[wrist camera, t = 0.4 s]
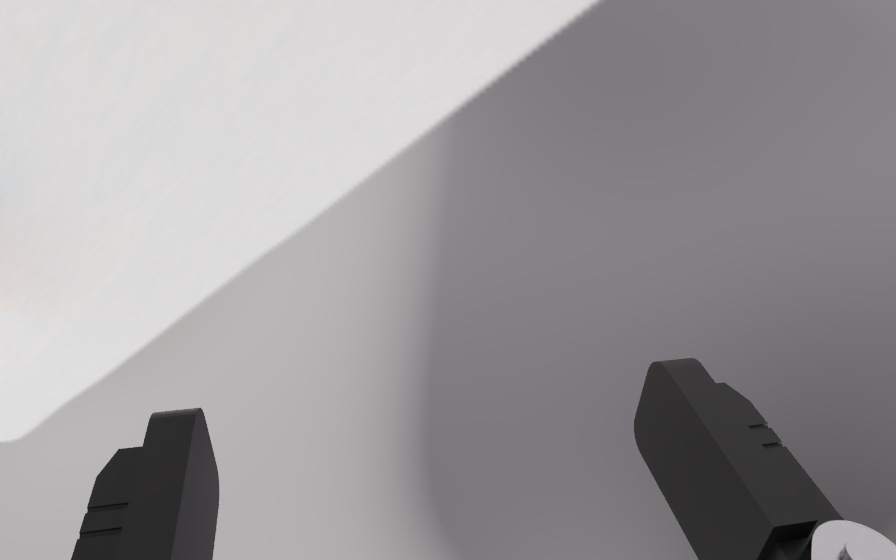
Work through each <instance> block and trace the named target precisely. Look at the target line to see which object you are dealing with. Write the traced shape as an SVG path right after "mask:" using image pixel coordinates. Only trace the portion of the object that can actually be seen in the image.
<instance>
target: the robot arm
mask: <svg viewBox="0 0 896 560" xmlns="http://www.w3.org/2000/svg"><path fill="white" fill-rule="evenodd" d="M634 433H635V439H636V443H637V446H638V449H639V451H640V453H641V455H642V457H643V459H644V460H645V462H646V464H647V466H648V468H649V469H650V471H651V473H652V475H653V477H654V479H655V480H656V482H657V484H658V486H659V488H660V490H661V492H662V493H663V495H664V497H665V499H666V500H667V502H668V504H669V506H670V508H671V510H672V512H673V513H674V515H675V517H676V519H677V521H678V523H679V524H680V526H681V528H682V530H683V532H684V534H685V535H686V537H687V539H688V541H689V543H690V545H691V546H692V548H693V550H694V552H695V554H696V555H697V557H698V559H699V560H896V545H894V544H893V543H892V542H891V541H890V540H888V539H887V538H886V537H884V536H883V535H881V534H880V533H878V532H876V531H874V530H873V529H871V528H868V527H866V526H864V525H861V524H858V523H855V522H851V521H845V520H844V519H843V518H842V517H841V516H840V515H839V514H838V512H837V511H836V510H835V509H834V507H833V506H832V505H831V503H830V502H829V501H828V500H827V498H826V497H825V496H824V495H823V493H822V492H821V491H820V490H819V488H818V487H817V486H816V484H814V482H813V481H812V479H811V478H810V477H809V476H808V474H807V473H806V472H805V471H804V469H803V468H802V467H801V465H800V464H799V463H798V462H797V460H796V459H795V458H794V456H793V455H792V454H791V453H790V451H789V450H788V449H787V448H786V447H783V446H782V441H781V440H780V439H779V437H778V436H777V435H776V434H775V432H774V431H773V430H772V428H768V426H767V422H766V421H765V420H764V418H763V417H762V416H761V415H760V413H759V412H758V411H757V409H756V408H755V407H754V406H753V404H752V403H751V402H750V401H749V400H748V399H746V398H745V397H744V396H742V395H741V394H739V393H738V392H737V391H735V390H734V389H733V388H731V387H730V386H728V385H727V384H726V383H715V382H714V380H713V379H712V378H711V376H710V375H709V374H708V372H707V371H706V370H705V368H704V367H703V366H702V365H701V363H700V362H699V361H698V360H696V359H694V358H687V359H677V360H668V361H657V362H653V363H652V364H651V365H650V367H649V369H648V372H647V376H646V380H645V383H644V387H643V390H642V394H641V398H640V401H639V405H638V408H637V412H636V415H635V420H634ZM218 506H219V479H218V470H217V465H216V461H215V457H214V453H213V449H212V445H211V440H210V436H209V432H208V428H207V424H206V420H205V416H204V413H203V411H202V409H201V408H194V409H184V410H175V411H165V412H156V413H153V414H152V415H151V417H150V420H149V423H148V427H147V432H146V435H145V439H144V443H143V447H134V448H126V449H118V451H117V452H116V453H115V455H114V456H113V457H112V458H111V460H110V461H109V462H108V463H107V465H106V466H105V467H104V468H103V470H102V471H101V472H100V474H99V475H98V476H97V478H96V481H95V484H94V487H93V490H92V494H91V497H90V500H89V503H88V507H87V508H88V512H87V513H86V514H85V516H84V520H83V523H82V526H81V529H80V532H79V533H80V538H79V539H78V540H77V542H76V545H75V549H74V552H73V556H72V558H71V560H212V558H213V549H214V541H215V533H216V524H217V515H218Z"/></svg>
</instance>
